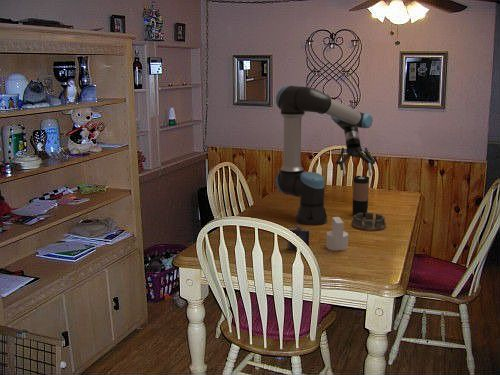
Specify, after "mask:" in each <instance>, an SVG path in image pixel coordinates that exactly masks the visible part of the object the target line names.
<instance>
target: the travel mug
mask: <svg viewBox="0 0 500 375" xmlns="http://www.w3.org/2000/svg"><path fill="white" fill-rule="evenodd" d="M369 190H370V176H367V175H364V176H361V175H355V176H353V187H352V217H354V215H356V214H357V213H363V218H365V217H366V213H368V208H369V207H368V206H369V193H370V192H369Z"/></svg>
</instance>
